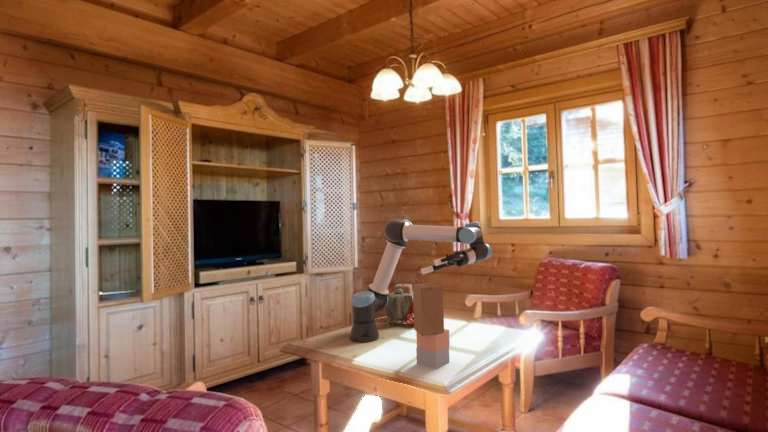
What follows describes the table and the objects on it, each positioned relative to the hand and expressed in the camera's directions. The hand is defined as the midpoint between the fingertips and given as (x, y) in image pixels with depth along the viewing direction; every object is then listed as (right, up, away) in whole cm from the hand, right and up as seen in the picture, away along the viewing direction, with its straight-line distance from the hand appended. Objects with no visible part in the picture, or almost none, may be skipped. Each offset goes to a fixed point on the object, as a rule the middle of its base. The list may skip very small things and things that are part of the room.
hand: (427, 267), depth 208 cm
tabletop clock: (-11, -39, +52) cm, 66 cm away
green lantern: (-8, -39, +68) cm, 78 cm away
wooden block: (-1, -26, -17) cm, 31 cm away
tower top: (+1, -32, -15) cm, 36 cm away
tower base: (+1, -39, -16) cm, 42 cm away
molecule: (+3, -39, +52) cm, 65 cm away
